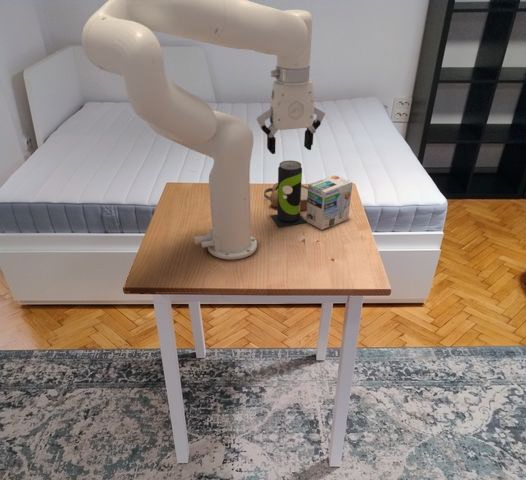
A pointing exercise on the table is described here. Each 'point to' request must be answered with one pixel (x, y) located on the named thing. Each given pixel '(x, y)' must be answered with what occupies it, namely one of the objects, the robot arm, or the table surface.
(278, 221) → the mat
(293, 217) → the beverage can
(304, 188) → the alarm clock
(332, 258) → the table surface
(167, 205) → the table surface
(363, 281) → the table surface
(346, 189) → the light bulb box
